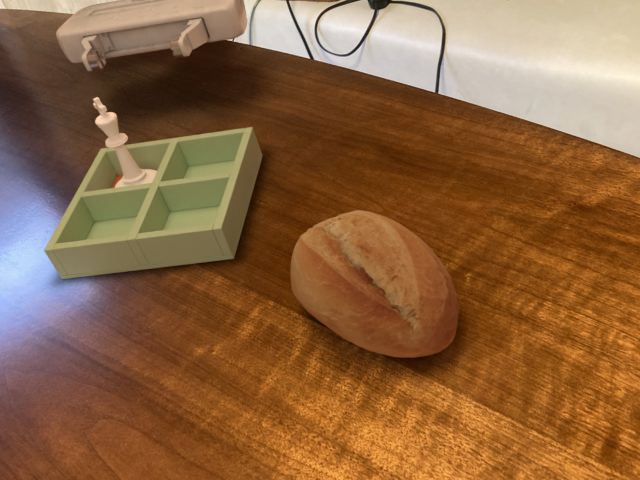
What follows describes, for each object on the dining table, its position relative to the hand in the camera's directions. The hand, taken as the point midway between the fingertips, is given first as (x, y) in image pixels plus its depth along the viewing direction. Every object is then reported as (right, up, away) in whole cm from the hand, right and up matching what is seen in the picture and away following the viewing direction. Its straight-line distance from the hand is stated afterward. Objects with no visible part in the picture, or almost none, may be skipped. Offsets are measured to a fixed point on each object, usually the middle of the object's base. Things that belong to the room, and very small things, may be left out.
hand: (134, 57), depth 78 cm
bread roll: (+25, -26, -20) cm, 41 cm away
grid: (+5, -16, -5) cm, 18 cm away
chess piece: (+1, -14, -2) cm, 14 cm away
